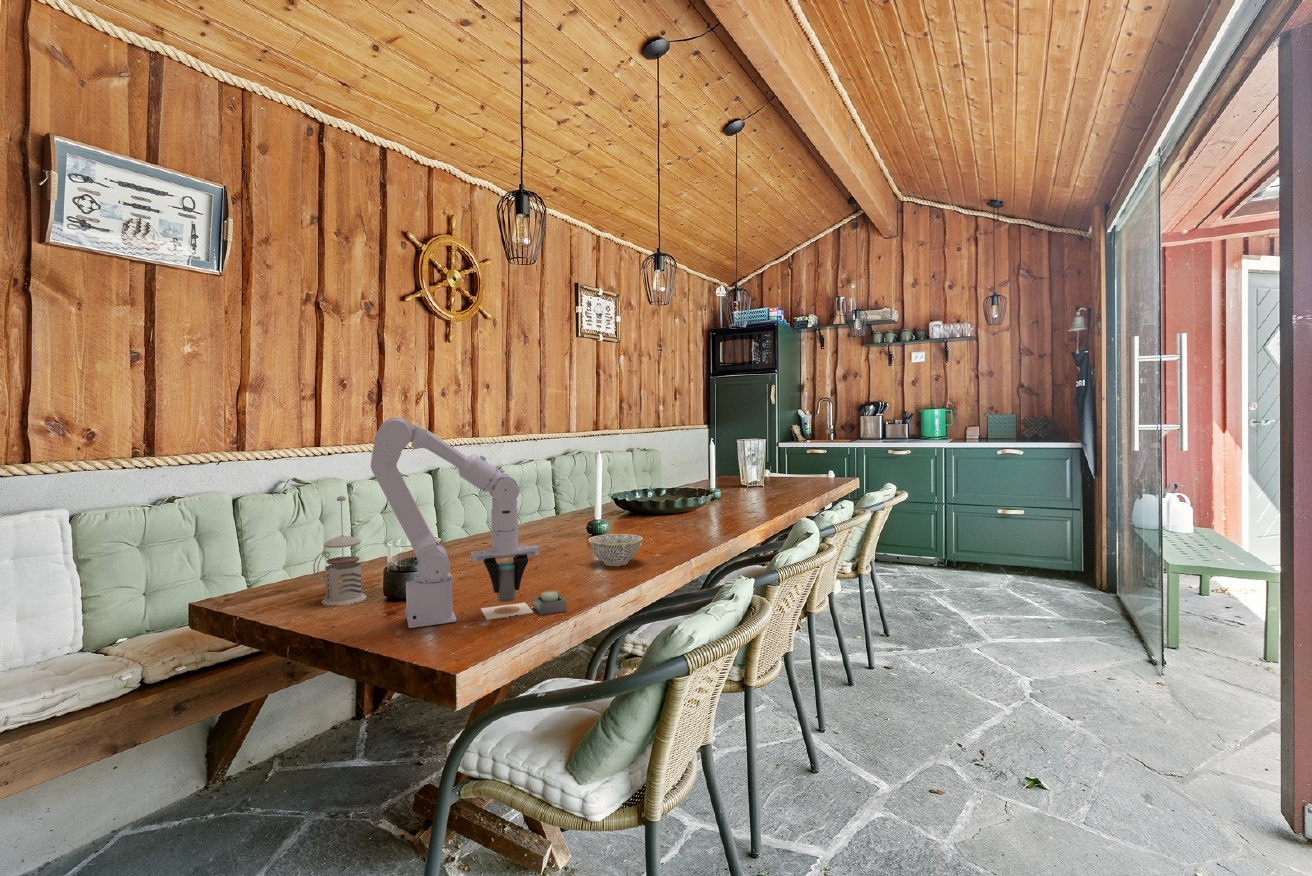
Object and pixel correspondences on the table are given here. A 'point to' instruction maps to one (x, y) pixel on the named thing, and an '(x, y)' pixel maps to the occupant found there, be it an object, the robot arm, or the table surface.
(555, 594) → the button
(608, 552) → the bowl
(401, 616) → the table surface
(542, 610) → the button base
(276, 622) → the table surface
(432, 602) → the robot arm
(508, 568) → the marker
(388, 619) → the table surface
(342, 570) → the french press
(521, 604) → the paper
